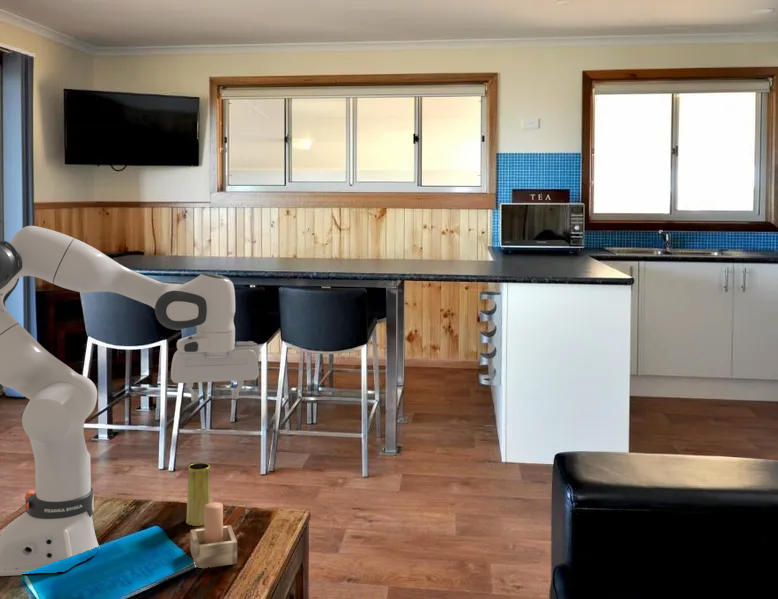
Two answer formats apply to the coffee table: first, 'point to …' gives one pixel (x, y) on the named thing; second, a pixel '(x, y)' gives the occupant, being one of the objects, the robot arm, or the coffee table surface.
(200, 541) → the socket block
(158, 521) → the coffee table surface
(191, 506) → the vase
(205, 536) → the peg
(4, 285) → the robot arm
